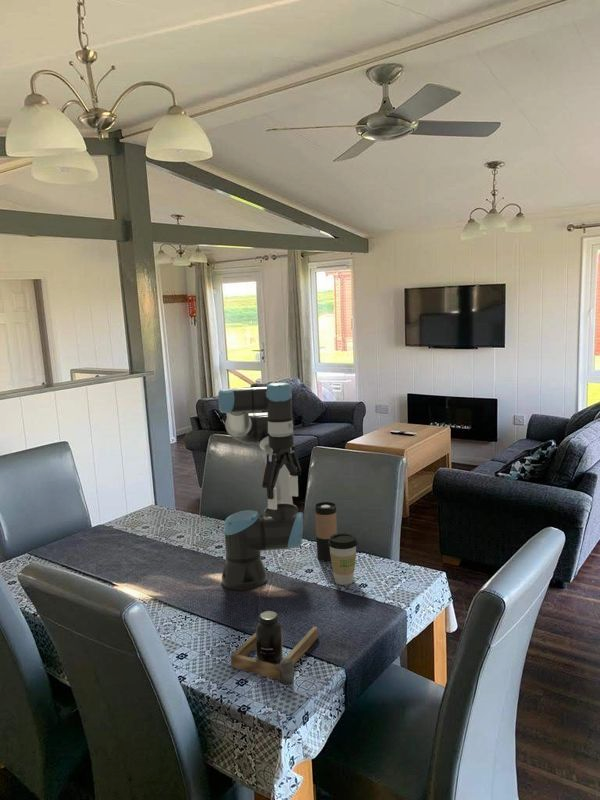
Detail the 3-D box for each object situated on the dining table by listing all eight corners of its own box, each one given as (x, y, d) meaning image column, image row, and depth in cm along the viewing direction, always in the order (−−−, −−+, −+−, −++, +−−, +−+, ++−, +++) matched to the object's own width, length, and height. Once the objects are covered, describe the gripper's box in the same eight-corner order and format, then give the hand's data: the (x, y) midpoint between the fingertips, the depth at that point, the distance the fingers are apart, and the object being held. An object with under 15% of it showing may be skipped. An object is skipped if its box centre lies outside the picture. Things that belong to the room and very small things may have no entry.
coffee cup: (356, 588, 190) (355, 544, 188) (327, 586, 192) (325, 542, 190) (360, 575, 199) (359, 532, 197) (331, 573, 201) (330, 531, 199)
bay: (229, 668, 149) (228, 650, 148) (272, 626, 168) (272, 610, 167) (289, 685, 141) (288, 666, 140) (327, 639, 160) (327, 622, 159)
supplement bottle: (263, 668, 148) (261, 624, 146) (252, 655, 154) (250, 612, 152) (287, 660, 151) (285, 617, 149) (276, 647, 157) (274, 606, 155)
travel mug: (315, 554, 218) (313, 502, 215) (336, 552, 219) (334, 501, 216) (318, 562, 210) (316, 509, 208) (339, 561, 211) (337, 507, 208)
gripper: (270, 443, 164) (274, 516, 167) (310, 427, 186) (312, 492, 189) (248, 441, 167) (251, 513, 170) (289, 426, 189) (292, 489, 192)
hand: (283, 502), depth 179 cm, fingers open, 13 cm apart
